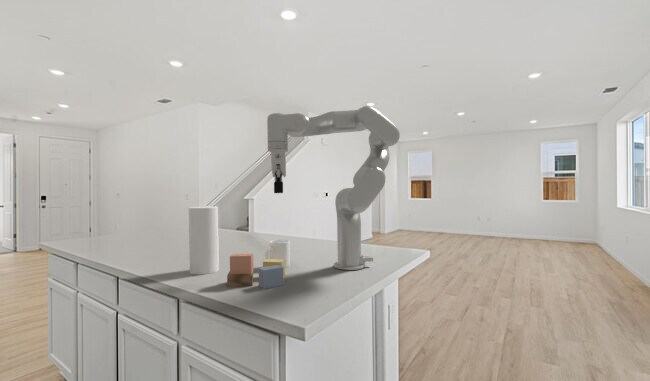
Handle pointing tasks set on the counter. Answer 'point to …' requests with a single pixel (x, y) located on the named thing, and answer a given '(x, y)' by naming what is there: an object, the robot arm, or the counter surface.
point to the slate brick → (270, 276)
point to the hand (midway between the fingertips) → (278, 192)
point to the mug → (279, 251)
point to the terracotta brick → (241, 264)
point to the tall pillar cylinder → (203, 239)
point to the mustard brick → (275, 263)
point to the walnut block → (239, 280)
